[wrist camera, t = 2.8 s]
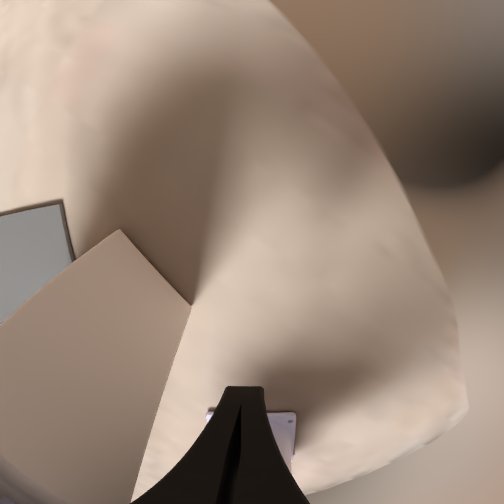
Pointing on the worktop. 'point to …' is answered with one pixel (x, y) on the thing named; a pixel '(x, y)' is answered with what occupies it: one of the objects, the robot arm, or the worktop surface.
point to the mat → (31, 253)
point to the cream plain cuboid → (86, 377)
